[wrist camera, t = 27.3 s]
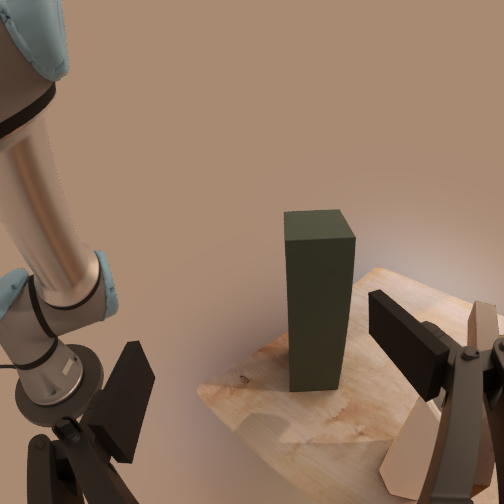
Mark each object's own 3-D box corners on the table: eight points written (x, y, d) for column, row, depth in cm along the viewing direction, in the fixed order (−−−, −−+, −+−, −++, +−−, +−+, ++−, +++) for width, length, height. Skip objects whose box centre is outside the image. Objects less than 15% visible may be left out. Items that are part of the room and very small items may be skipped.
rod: (438, 495, 11) (456, 482, 10) (467, 320, 27) (474, 300, 25) (469, 499, 9) (489, 486, 8) (487, 325, 25) (495, 305, 24)
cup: (444, 431, 30) (499, 347, 22) (451, 493, 20) (529, 425, 12) (379, 438, 32) (417, 355, 24) (377, 505, 23) (434, 451, 15)
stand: (289, 392, 43) (284, 240, 32) (289, 350, 52) (283, 211, 41) (337, 389, 42) (355, 237, 31) (331, 348, 51) (339, 209, 40)
